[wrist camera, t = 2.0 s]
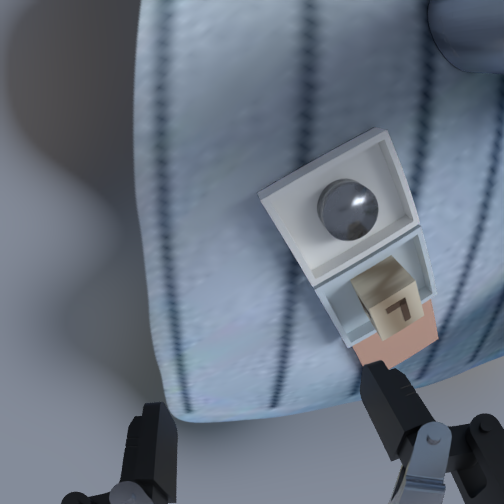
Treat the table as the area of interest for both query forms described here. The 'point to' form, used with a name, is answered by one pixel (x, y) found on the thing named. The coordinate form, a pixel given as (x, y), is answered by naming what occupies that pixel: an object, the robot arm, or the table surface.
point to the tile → (399, 341)
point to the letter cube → (388, 297)
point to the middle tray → (339, 285)
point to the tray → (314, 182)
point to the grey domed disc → (347, 209)
